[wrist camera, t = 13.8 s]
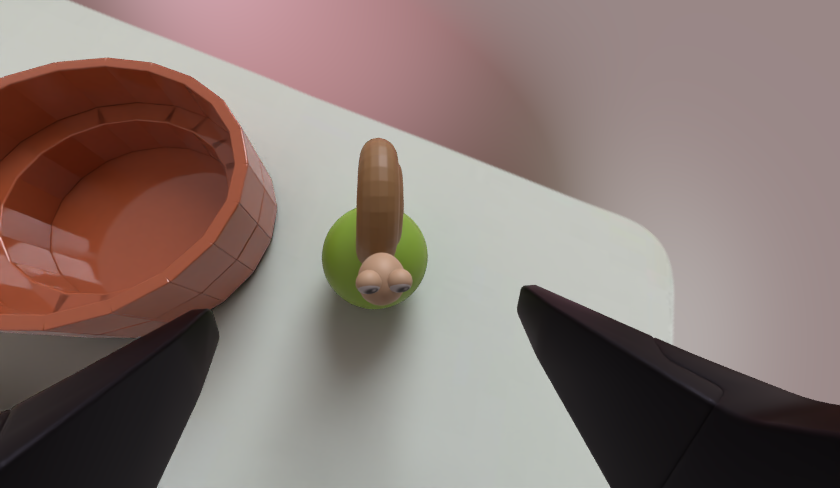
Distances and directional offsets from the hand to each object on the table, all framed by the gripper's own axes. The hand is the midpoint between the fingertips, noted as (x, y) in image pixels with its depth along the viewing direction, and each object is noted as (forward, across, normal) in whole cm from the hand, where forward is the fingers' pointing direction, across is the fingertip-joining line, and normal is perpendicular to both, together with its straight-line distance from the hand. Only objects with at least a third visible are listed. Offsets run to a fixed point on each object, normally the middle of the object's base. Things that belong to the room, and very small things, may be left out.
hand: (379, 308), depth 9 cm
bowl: (+12, +12, +1) cm, 17 cm away
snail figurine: (+9, 0, +4) cm, 10 cm away
